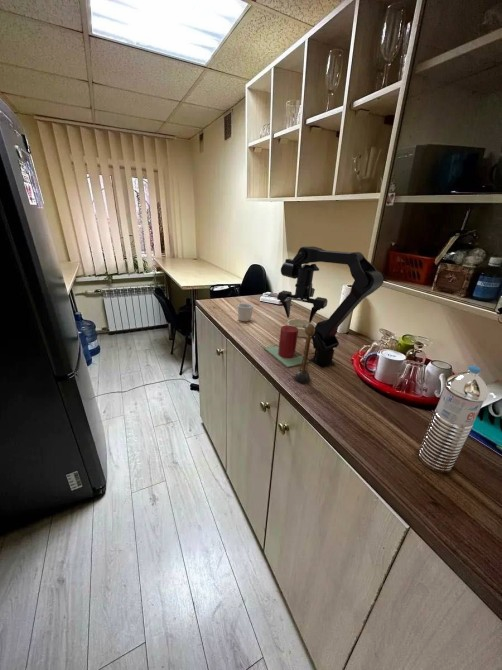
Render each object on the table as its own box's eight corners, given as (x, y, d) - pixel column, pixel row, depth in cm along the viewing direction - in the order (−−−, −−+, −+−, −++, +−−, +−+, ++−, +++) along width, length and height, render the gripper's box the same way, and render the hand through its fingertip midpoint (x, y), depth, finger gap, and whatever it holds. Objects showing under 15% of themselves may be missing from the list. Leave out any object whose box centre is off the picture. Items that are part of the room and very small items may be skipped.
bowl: (322, 335, 128) (323, 327, 127) (298, 340, 122) (299, 331, 120) (303, 325, 140) (304, 317, 138) (280, 329, 133) (281, 320, 131)
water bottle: (438, 450, 66) (478, 359, 56) (458, 474, 60) (507, 377, 50) (410, 449, 66) (446, 358, 56) (428, 474, 59) (472, 376, 50)
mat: (309, 362, 103) (309, 361, 103) (287, 367, 99) (287, 366, 99) (284, 345, 116) (284, 344, 116) (264, 349, 112) (264, 348, 111)
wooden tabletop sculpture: (291, 374, 94) (298, 320, 86) (303, 373, 96) (311, 319, 88) (299, 384, 89) (308, 327, 81) (311, 382, 91) (321, 326, 83)
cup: (232, 316, 145) (233, 301, 142) (246, 315, 149) (247, 300, 145) (240, 323, 136) (241, 308, 133) (254, 321, 140) (255, 306, 137)
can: (298, 356, 106) (301, 330, 102) (284, 359, 103) (287, 333, 99) (288, 349, 111) (291, 324, 107) (274, 352, 108) (277, 326, 104)
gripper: (334, 281, 105) (327, 319, 111) (289, 274, 113) (285, 310, 119) (326, 286, 96) (319, 327, 102) (278, 278, 104) (274, 317, 110)
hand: (298, 319), depth 109 cm, fingers open, 9 cm apart
